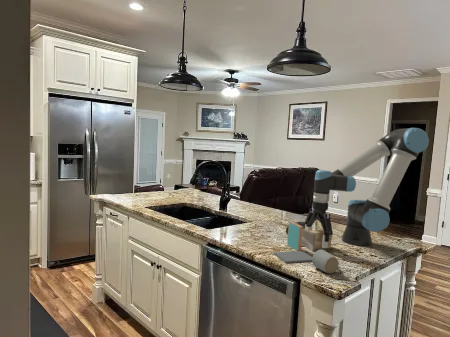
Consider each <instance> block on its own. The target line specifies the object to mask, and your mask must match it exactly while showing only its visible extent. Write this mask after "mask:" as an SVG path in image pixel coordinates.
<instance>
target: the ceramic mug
mask: <svg viewBox="0 0 450 337" xmlns="http://www.w3.org/2000/svg"><path fill="white" fill-rule="evenodd" d="M312 255H313V256H312V257H313V258H312V265H313V267H314V268H316V269H319V270H320V271H323V272H324V273H326V274H334V273H335V272H336V271H340V270H341V266H339V260H338V258H337V257H336V256H335V255H333V254H331V253H329V252H327V251H326V250H325V249H318V250H316V251H315V252H314V254H312Z"/></svg>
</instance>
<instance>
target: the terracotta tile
mask: <svg viewBox="0 0 450 337" xmlns="http://www.w3.org/2000/svg"><path fill="white" fill-rule="evenodd" d="M288 225H289V229H288V234H287V243H286V244H287V247H289V246H290V247H289V248H291V249H293V250H294V251H302V245H301V244H302V232H303V227H302V226H300V225H298V224H296V223H295V222H294V221H288Z"/></svg>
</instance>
